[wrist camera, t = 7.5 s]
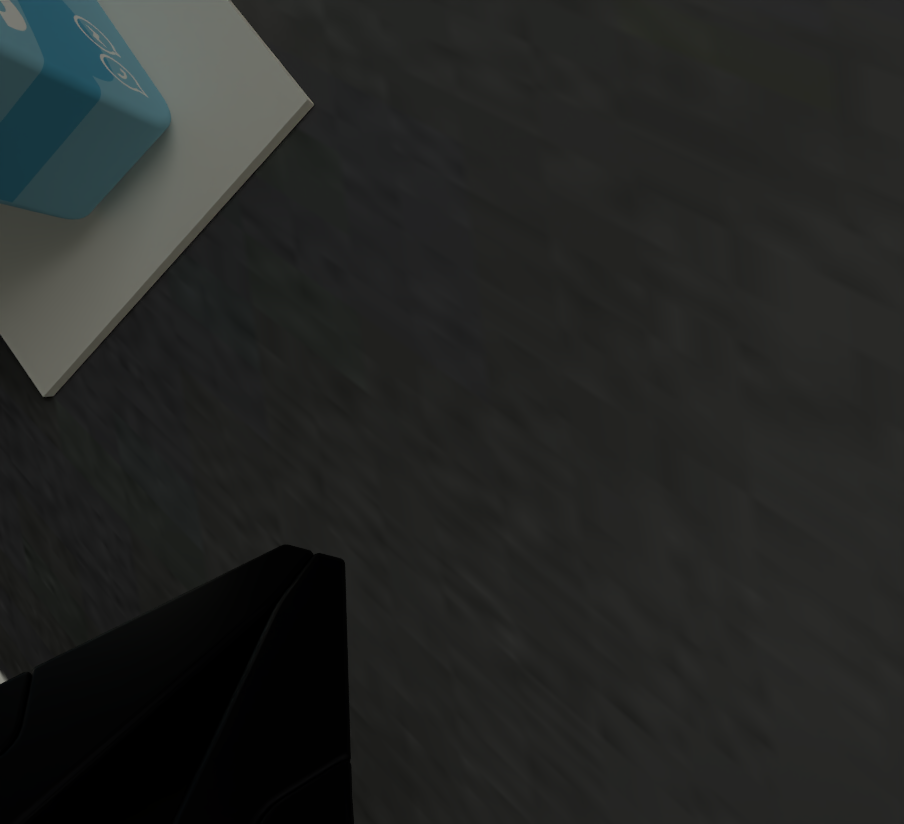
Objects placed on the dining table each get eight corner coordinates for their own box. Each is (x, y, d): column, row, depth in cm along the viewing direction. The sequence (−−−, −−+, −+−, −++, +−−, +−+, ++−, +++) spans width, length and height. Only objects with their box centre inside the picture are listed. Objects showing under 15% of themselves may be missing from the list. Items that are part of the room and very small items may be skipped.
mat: (314, 104, 19) (307, 99, 18) (53, 396, 22) (43, 396, 22) (29, -249, 20) (18, -260, 20) (-166, 77, 24) (-179, 73, 24)
